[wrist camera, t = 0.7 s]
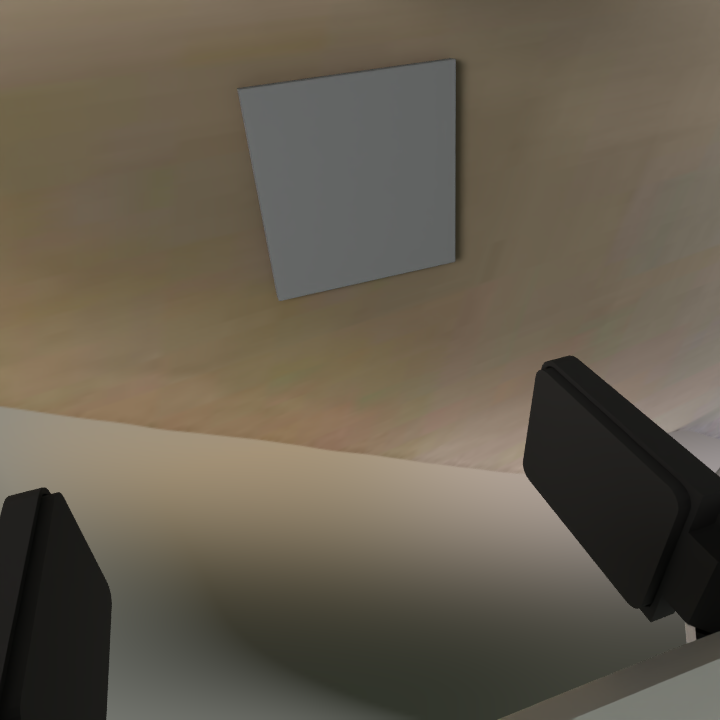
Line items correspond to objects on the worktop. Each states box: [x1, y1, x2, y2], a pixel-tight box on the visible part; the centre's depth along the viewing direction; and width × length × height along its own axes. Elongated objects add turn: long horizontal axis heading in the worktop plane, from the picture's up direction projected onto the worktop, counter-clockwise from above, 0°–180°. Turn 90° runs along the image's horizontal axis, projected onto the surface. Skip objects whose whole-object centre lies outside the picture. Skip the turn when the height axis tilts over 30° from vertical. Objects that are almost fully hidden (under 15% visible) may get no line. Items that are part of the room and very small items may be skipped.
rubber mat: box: [237, 58, 456, 301], centre depth 39 cm, size 14×14×1 cm
